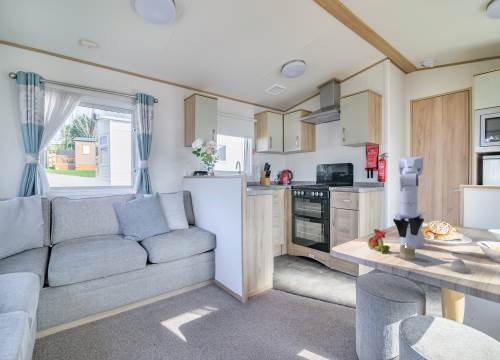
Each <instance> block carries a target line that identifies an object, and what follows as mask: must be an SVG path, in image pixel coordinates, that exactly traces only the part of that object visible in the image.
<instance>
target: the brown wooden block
mask: <svg viewBox="0 0 500 360" xmlns="http://www.w3.org/2000/svg"><path fill="white" fill-rule="evenodd" d="M399 247H400V248H399V249H400V251H399V255H400V257H401V258H403V259H407V260H415V253H416V248H415V247H413V246H409V248H406V247H405V245H401V244H400V246H399ZM403 259H402V260H403Z"/></svg>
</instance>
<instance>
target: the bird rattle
mask: <svg viewBox="0 0 500 360" xmlns="http://www.w3.org/2000/svg"><path fill="white" fill-rule="evenodd" d="M373 231H374V233H375V234H372V235H370V236H369V237H368V238H367V245H368V248H369V250H373V251H376V252H379V251H380V253H381V254H383V253H384V252H385V251H386V252H390V249H391V247H390V245H385V244H384V240H383V238H384V239H385V238H386V234H387V231H381V230H380V229H378V228H374V229H373Z"/></svg>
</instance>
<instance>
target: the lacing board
mask: <svg viewBox="0 0 500 360" xmlns="http://www.w3.org/2000/svg"><path fill="white" fill-rule="evenodd" d="M393 257H395V258H398V259H400V260H403V261H405V262H408V263H411V264H414V265H416V266H420V267H422V268H427V267H428V268H429V267H433V266H440V265H445V264H450V261H446V260H442V259H439V258H436V257H433V256H429V255H427V254H423V253H419V252H415V260H407V259H403V258H401V257H400V254H396V255H393Z"/></svg>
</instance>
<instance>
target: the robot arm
mask: <svg viewBox="0 0 500 360" xmlns="http://www.w3.org/2000/svg"><path fill="white" fill-rule="evenodd" d="M398 169H399V171H398V172H399V173H400V175H399V188H400V189H399V190H400V210H399V211H398V212H397V214H394V218H393V223H394V224H395V226H396V229H397V232H398V236H399V237H400V246H401V245H405V244H409V246H413V247H415V249H419V248H425V246H424V245H425V235H424V232H423V231H422V230H423V222H425V218H423V213H422V212H421V211H419V210H418V192H419V191H418V189H419V186H420V176H422V175H423V171H424V157H423V156H421V155H420V156H404V157H402V156H400V157H398Z"/></svg>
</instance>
